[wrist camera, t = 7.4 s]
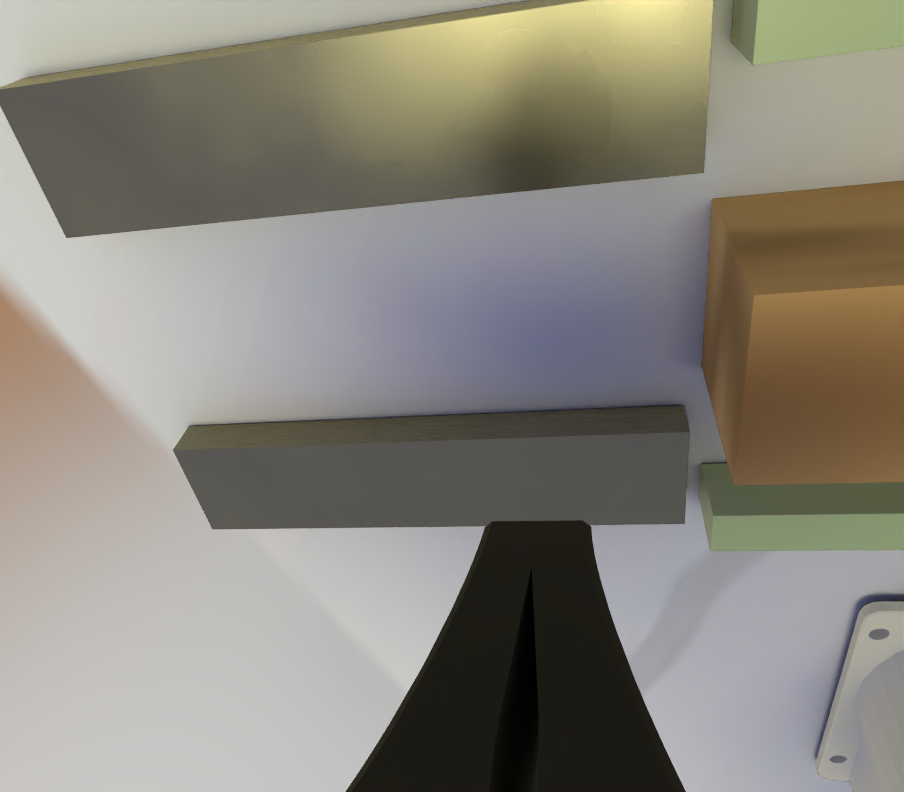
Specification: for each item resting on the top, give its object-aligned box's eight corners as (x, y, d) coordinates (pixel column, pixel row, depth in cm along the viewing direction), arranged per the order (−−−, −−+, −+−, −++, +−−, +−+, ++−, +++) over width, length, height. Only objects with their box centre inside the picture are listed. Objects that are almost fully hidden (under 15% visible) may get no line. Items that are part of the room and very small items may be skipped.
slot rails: (679, 495, 19) (684, 523, 18) (225, 504, 21) (212, 529, 20) (704, -27, 12) (714, -19, 11) (24, 77, 14) (-8, 90, 13)
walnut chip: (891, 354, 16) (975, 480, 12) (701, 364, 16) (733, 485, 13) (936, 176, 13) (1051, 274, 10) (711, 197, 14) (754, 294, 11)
